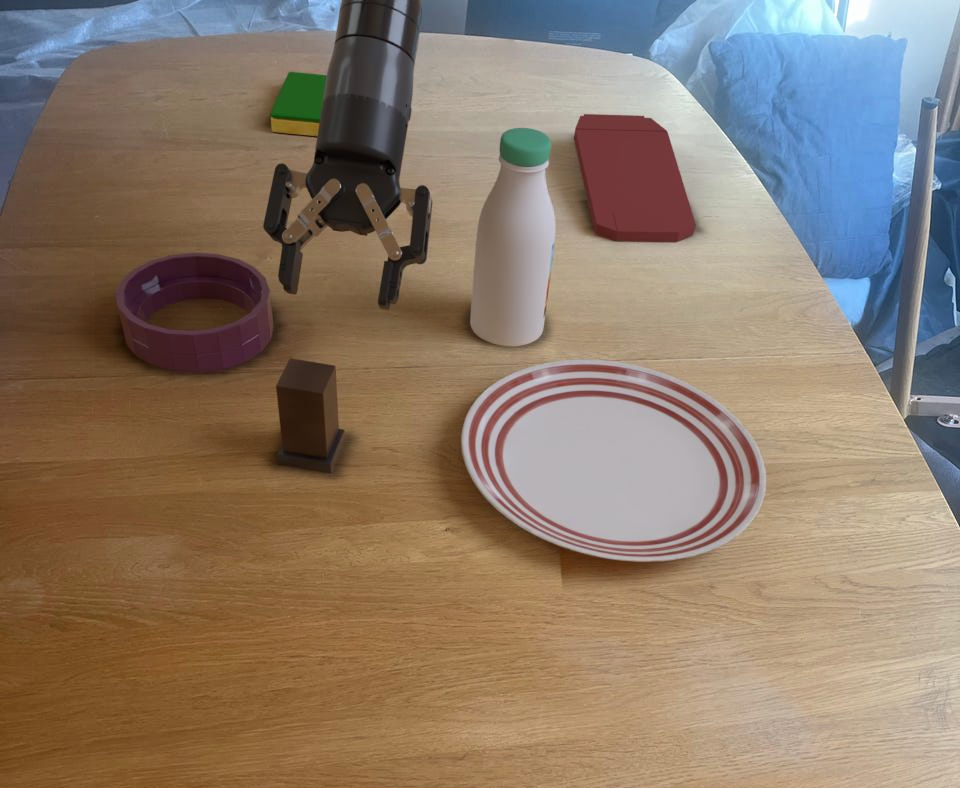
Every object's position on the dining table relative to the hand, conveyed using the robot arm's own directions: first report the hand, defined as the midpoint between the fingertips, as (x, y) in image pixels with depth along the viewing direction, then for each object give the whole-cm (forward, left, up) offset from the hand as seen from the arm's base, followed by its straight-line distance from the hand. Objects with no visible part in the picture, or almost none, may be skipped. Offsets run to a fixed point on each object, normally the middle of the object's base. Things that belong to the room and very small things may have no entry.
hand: (336, 299), depth 88 cm
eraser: (-2, -9, -10) cm, 14 cm away
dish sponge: (-10, +61, -10) cm, 63 cm away
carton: (+32, +45, -10) cm, 57 cm away
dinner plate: (+25, -10, -10) cm, 29 cm away
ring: (-15, +8, -10) cm, 20 cm away
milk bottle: (+16, +12, -10) cm, 23 cm away
